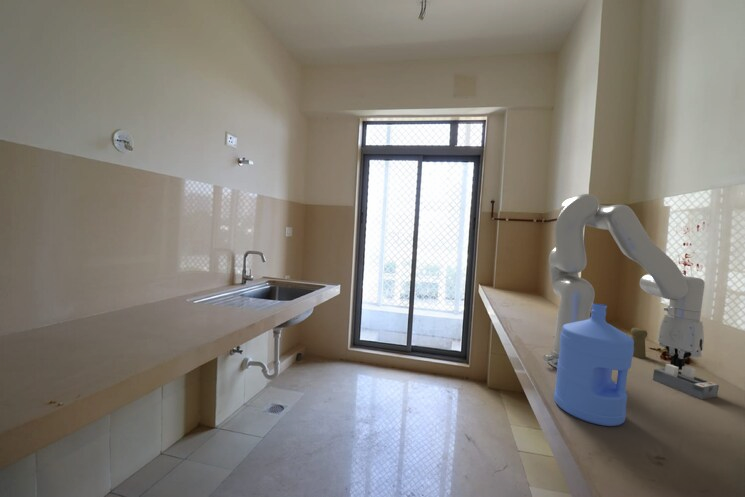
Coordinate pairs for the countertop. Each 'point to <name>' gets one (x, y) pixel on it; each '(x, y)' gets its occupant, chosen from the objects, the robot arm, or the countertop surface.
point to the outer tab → (688, 372)
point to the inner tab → (671, 370)
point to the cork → (639, 342)
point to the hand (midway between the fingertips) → (676, 368)
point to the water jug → (593, 369)
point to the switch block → (687, 384)
